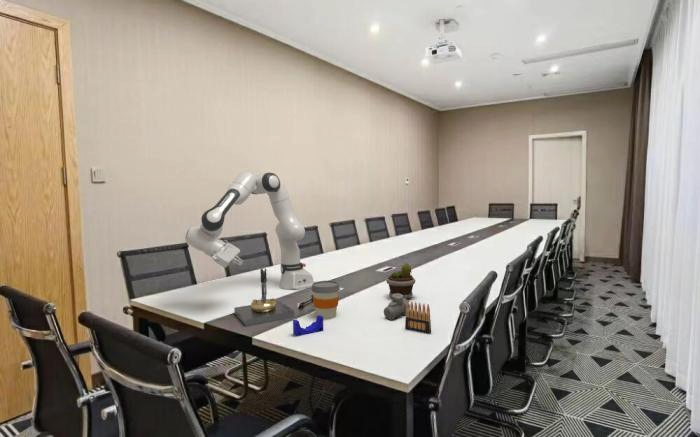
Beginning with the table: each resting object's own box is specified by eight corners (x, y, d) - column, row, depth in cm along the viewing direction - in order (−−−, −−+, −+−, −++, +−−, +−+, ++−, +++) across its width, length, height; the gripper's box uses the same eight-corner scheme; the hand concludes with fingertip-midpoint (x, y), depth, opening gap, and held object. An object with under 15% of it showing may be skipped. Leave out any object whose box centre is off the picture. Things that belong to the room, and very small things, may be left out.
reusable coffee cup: (329, 322, 171) (328, 288, 169) (306, 317, 177) (306, 285, 176) (345, 314, 181) (344, 282, 180) (323, 310, 188) (322, 279, 187)
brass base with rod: (275, 311, 177) (274, 274, 175) (250, 312, 175) (249, 276, 173) (275, 300, 193) (274, 267, 192) (253, 302, 191) (251, 268, 190)
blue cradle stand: (319, 327, 165) (318, 314, 164) (323, 331, 161) (323, 317, 160) (292, 333, 159) (291, 319, 158) (295, 337, 155) (295, 322, 154)
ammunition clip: (404, 329, 161) (404, 300, 160) (406, 327, 163) (406, 299, 162) (429, 334, 155) (429, 304, 154) (431, 332, 157) (431, 303, 156)
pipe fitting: (396, 310, 184) (396, 289, 182) (410, 315, 179) (410, 294, 177) (380, 319, 176) (380, 298, 174) (394, 325, 170) (394, 303, 168)
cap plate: (279, 306, 196) (278, 299, 195) (294, 317, 178) (294, 310, 178) (234, 313, 184) (234, 307, 184) (246, 326, 167) (245, 319, 167)
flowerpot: (381, 298, 205) (380, 261, 203) (398, 292, 216) (398, 257, 215) (403, 304, 195) (403, 264, 194) (420, 297, 206) (420, 260, 205)
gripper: (212, 250, 179) (239, 265, 180) (226, 238, 199) (250, 252, 200) (206, 261, 180) (233, 276, 182) (220, 249, 200) (244, 262, 202)
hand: (242, 263), depth 191 cm, fingers closed
